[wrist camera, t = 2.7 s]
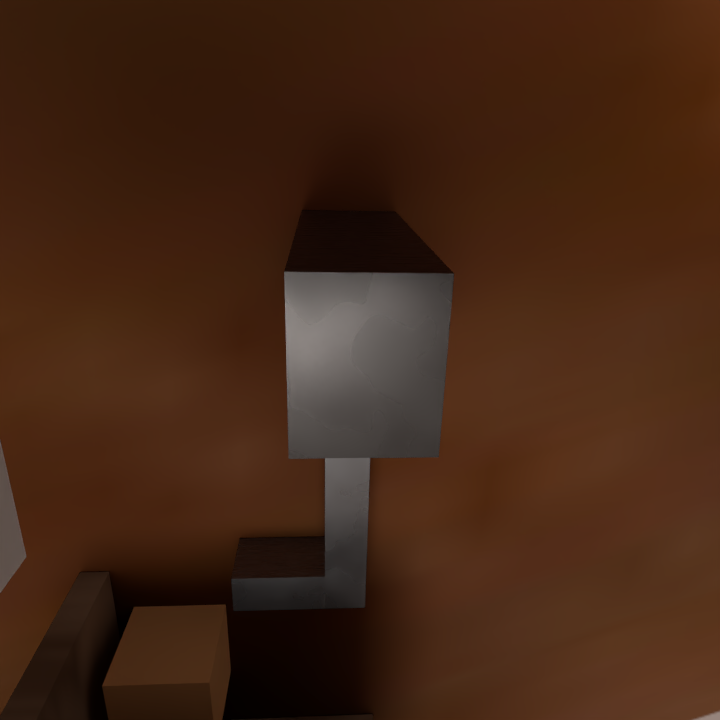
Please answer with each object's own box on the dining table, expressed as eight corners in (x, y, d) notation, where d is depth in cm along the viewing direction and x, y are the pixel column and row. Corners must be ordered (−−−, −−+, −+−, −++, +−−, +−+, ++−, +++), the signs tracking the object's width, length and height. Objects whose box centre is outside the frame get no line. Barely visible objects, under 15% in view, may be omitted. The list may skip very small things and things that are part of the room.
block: (134, 605, 32) (102, 686, 27) (226, 603, 32) (209, 682, 28) (144, 672, 34) (115, 758, 29) (231, 669, 34) (216, 754, 29)
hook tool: (218, 208, 24) (130, 270, 13) (395, 211, 25) (453, 273, 14) (241, 568, 31) (195, 809, 20) (379, 565, 32) (409, 799, 21)
